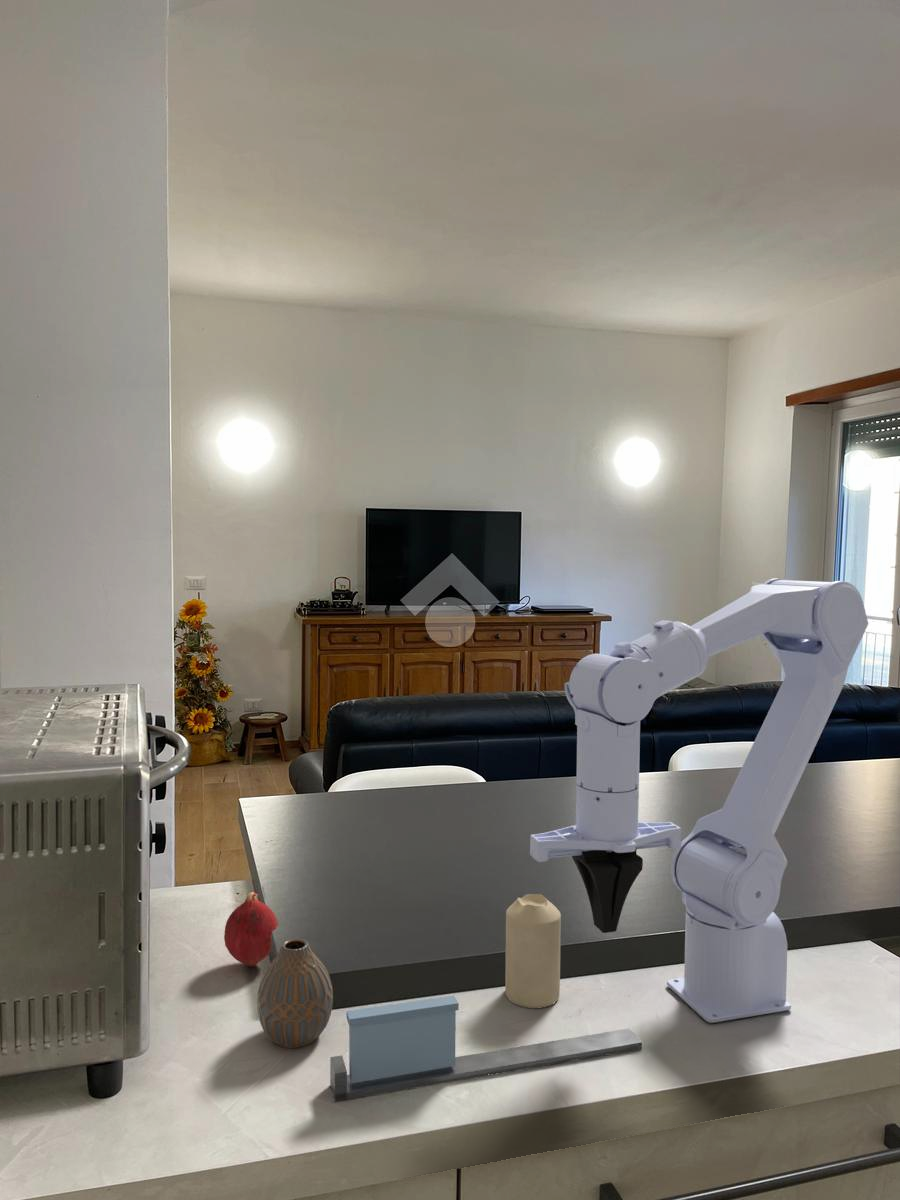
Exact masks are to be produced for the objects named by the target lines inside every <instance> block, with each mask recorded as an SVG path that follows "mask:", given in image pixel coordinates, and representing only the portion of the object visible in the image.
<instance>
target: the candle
mask: <svg viewBox="0 0 900 1200" xmlns="http://www.w3.org/2000/svg"><path fill="white" fill-rule="evenodd" d="M561 914H562V913H561V912H560V910H559V909H558V908H557V907H556V906H555V905H554V904H553V903H552V902H551V901H549V900H548V899H547V898H546V897H545V896H544V895H542V894H540V893H535V894H534V893H531V894H529V893H528V894H525V895H523V897H517V899H516V900H515V901H514V902H513V903H512V904H511V905H510V906H508V908H507V909H506V911H505V983H504V985H505V995H507V996H506V998H507V997H508V998H509V999H510V1000H511V1001H512V1002H511V1001H510V1000H509V999H508V998H507V999H508V1000H509V1001H510V1002H511V1003H513V1004H514V1003H515V1004H514V1005H516V1004H518V1005H517V1006H519V1005H520V1006H519V1007H522V1006H523V1008H527V1007H530V1008H529V1009H534V1008H533V1007H536V1008H535V1009H540V1008H539V1007H544V1008H546V1007H545V1006H548V1007H550V1006H552V1005H551V1004H553V1003H554V1002H556V1001H557V1000H558V1001H559V999H558V998H560V990H561V988H560V987H561V929H562V927H561V926H562V925H561V924H562V923H561V921H562V920H561V919H562V915H561ZM558 1001H557V1002H558ZM557 1002H556V1003H557ZM554 1004H555V1003H554ZM554 1004H553V1005H554ZM549 1005H550V1006H549Z"/></svg>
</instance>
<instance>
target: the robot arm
mask: <svg viewBox="0 0 900 1200" xmlns="http://www.w3.org/2000/svg"><path fill="white" fill-rule="evenodd" d="M866 612H867V611H866V609H865V605H864V601H863V597H862V595H861V593H860V591H859V590H858V588H857V587H856V586H855V585H854V584H852V583H850V582H848V581H845V580H844V581H843V580H835V581H816V580H815V581H813V580H810V581H809V580H790V579H784V578H779V577H778V578H776V577H775V578H771V579H768V580H766V581H765V582H763V583H759V584H755V585H752V586H751V587H750V589H749V591H748V593H746V594H744V595H742V596H741V597H739V598H737V599H736V600H734V601H732V602H730V603H728V604H727V605H725V606H723V607H722V608H720V609H718V610H717V611H714V612H712V613H711V614H709V615H708V616H705V618H702V619H701V620H699V621H698V622H695V623H694V624H693V625H688V624H686V623H684V622H681V621H672V620H663V619H662V620H659V621H657V622H655V623H654V624H653V625H652V626H653V631H650V632H649V633H647V634H645V635H642V636H640V637H639V638H636V639H635V640H632V641H629V642H627V641H620V642H618V643H616V644H615V645H614V649H613V650H612V651H611V652H610V654H608V655H607V654H601V653H590V654H588V655H586V656H584V657H583V658H581V659H580V660H579V661H578V662H577V663H576V665H575V666H574V667H573V669H572V671H571V674H570V677H569V680H568V681H567V682H565V683H564V692H565V696H566V699H567V701H568V703H569V705H570V706H571V707H572V708H573V711H574V715H575V717H574V719H575V720H574V721H575V722H574V725H576V730H577V731H576V735H577V736H576V782H575V783H576V787H575V788H576V789H575V790H576V792H575V793H576V794H575V795H576V798H575V799H576V800H575V801H576V802H575V806H576V807H575V824H574V825H570V826H567V827H562V828H559V829H554V830H551V831H546V832H543V833H534V834H530V836H529V838H530V841H529V848H530V849H529V854H530V856H531V857H532V859H534V861H537V863H543V862H544V863H545V862H548V861H549V859H554V858H555V859H556V858H563V857H572V860H573V861H574V864H575V866H576V868H577V870H578V872H579V875H580V877H581V879H582V882H583V884H584V887H585V890H586V893H587V897H588V900H589V904H590V908H591V914H592V920H593V925H594V927H596V928H597V929H598V930H599V931H600V932H601V933H603V934H606V933H607V934H608V933H614V932H617V930H618V925H619V922H620V917H621V914H622V911H623V907H624V904H625V902H626V899H627V897H628V894H629V892H630V890H631V889H632V887H633V884H634V882H635V881H636V879H637V877H638V876H639V875H640V874H641V871H643V867H644V866H643V865H644V860H643V858H642V856H640V855H639V854H637V850H644V849H653V848H654V849H655V848H665V847H668V848H669V849H675V850H674V853H673V855H672V857H671V862H670V875H671V879H672V882H673V884H674V885H675V887H676V888H677V889H678V890H679V891H681V902H682V904H684V905H685V922H684V923H685V928H684V930H685V934H684V935H685V936H684V937H685V939H684V977H677V978H672V979H671V978H670V979H668V980H667V981H666V986H668V987H669V989H670V990H672V991H673V992H674V993H675V994H676V996H678V997H680V998H681V1000H683V1001H684V1002H685V1003H686V1004H687V1005H688V1006H689V1008H691V1009H693V1011H695V1013H697V1014H698V1015H699V1016H700V1017H701V1018H702V1019H703V1020H704V1021H705V1022H706V1023H711V1024H713V1023H714V1024H715V1023H720V1022H726V1021H732V1020H737V1019H744V1018H749V1017H755V1016H762V1015H767V1014H773V1013H779V1012H785V1011H786V1012H787V1011H790V1010H791V1009H792V1004H791V1003H790V1002H788V1001H787V977H788V976H787V971H788V941H787V939H788V938H787V934H786V932H785V931H786V930H785V928H784V925H783V923H782V921H781V919H780V918H779V916H778V915H777V914H776V913H775V912H774V911H775V908H776V907H777V905H778V902H779V900H780V893H781V885H782V878H783V875H784V872H785V870H786V867H787V866H788V860H787V858H786V856H785V854H784V851H783V850H782V848H781V845H780V844H779V841H778V840H777V838H776V835H775V833H776V831H777V829H778V827H779V825H780V823H781V821H782V819H783V817H784V814H785V813H786V810H787V808H788V806H789V804H790V801H791V799H792V797H793V795H794V794H795V791H796V789H797V787H798V784H799V782H800V780H801V778H802V776H803V773H804V772H805V769H806V768H807V765H808V763H809V760H810V759H811V756H812V754H813V752H814V750H815V747H816V746H817V743H818V741H819V739H820V737H821V734H822V733H823V730H824V728H825V726H826V725H827V723H828V719H829V717H830V715H831V713H832V711H833V709H834V706H835V705H836V703H837V700H838V698H839V696H840V694H841V692H842V689H843V687H844V685H845V683H846V679H847V674H848V670H849V666H850V664H851V662H852V660H853V658H854V655H855V653H856V651H857V649H858V648H859V646H860V643H861V641H862V639H863V637H864V635H865V632H866V629H867V628H868V625H869V621H868V617H867V613H866ZM758 636H762V638H763V640H764V641H765V642H766V644H767V646H768V648H769V650H770V651H771V653H772V655H773V657H774V658H775V660H776V661H777V663H779V664H780V665H781V666H782V670H783V671H784V679H783V681H782V683H781V685H780V687H779V689H778V691H777V693H776V695H775V698H774V699H773V702H772V703H771V705H770V708H769V710H768V712H767V715H765V718H764V720H763V723H762V725H761V727H760V729H759V731H758V733H757V735H756V737H755V740H754V741H753V744H752V745H751V747H750V750H749V752H748V754H747V756H746V759H745V760H744V762H743V764H742V767H741V769H740V770H739V773H738V775H737V776H736V779H735V781H734V783H733V785H732V787H731V789H730V791H729V793H728V796H727V798H726V800H725V802H724V804H723V806H722V807H721V808H720V809H718V810H716V811H714V812H712V813H709V814H707V815H704V816H702V817H700V818H699V819H697V820H696V823H695V824H694V827H693V829H692V831H690V834H688V836H687V837H685V838H684V839H683V840H682V828H681V827H680V826H678V825H677V824H675V823H673V822H672V821H666V822H665V821H664V822H663V821H662V822H647V821H646V822H644V821H639V809H640V807H639V802H640V801H639V799H640V798H639V797H640V753H641V752H640V751H641V750H640V748H641V746H640V745H641V735H640V734H641V721H642V720H643V719H644V718H646V717H647V715H648V714H649V712H650V711H651V709H652V708H653V706H654V703H655V701H656V700H657V699H658V698H660V697H661V696H662V697H663V696H664V695H665V694H667V693H669V692H672V691H673V690H675V689H677V688H678V687H681V686H682V685H684V684H686V683H688V682H690V681H692V680H694V679H696V678H697V677H700V676H701V675H702V674H704V672H705V671H706V669H707V666H708V660H709V658H711V657H712V656H714V655H716V654H719V653H722V652H724V651H727V650H728V649H730V648H732V647H735V646H738V645H740V644H742V643H745V642H747V641H749V640H751V639H754V638H756V637H758ZM733 848H734V849H733ZM735 848H736V849H740V850H742V851H744V852H746V854H745V853H743V852H741V851H738V850H736V849H735Z"/></svg>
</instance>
